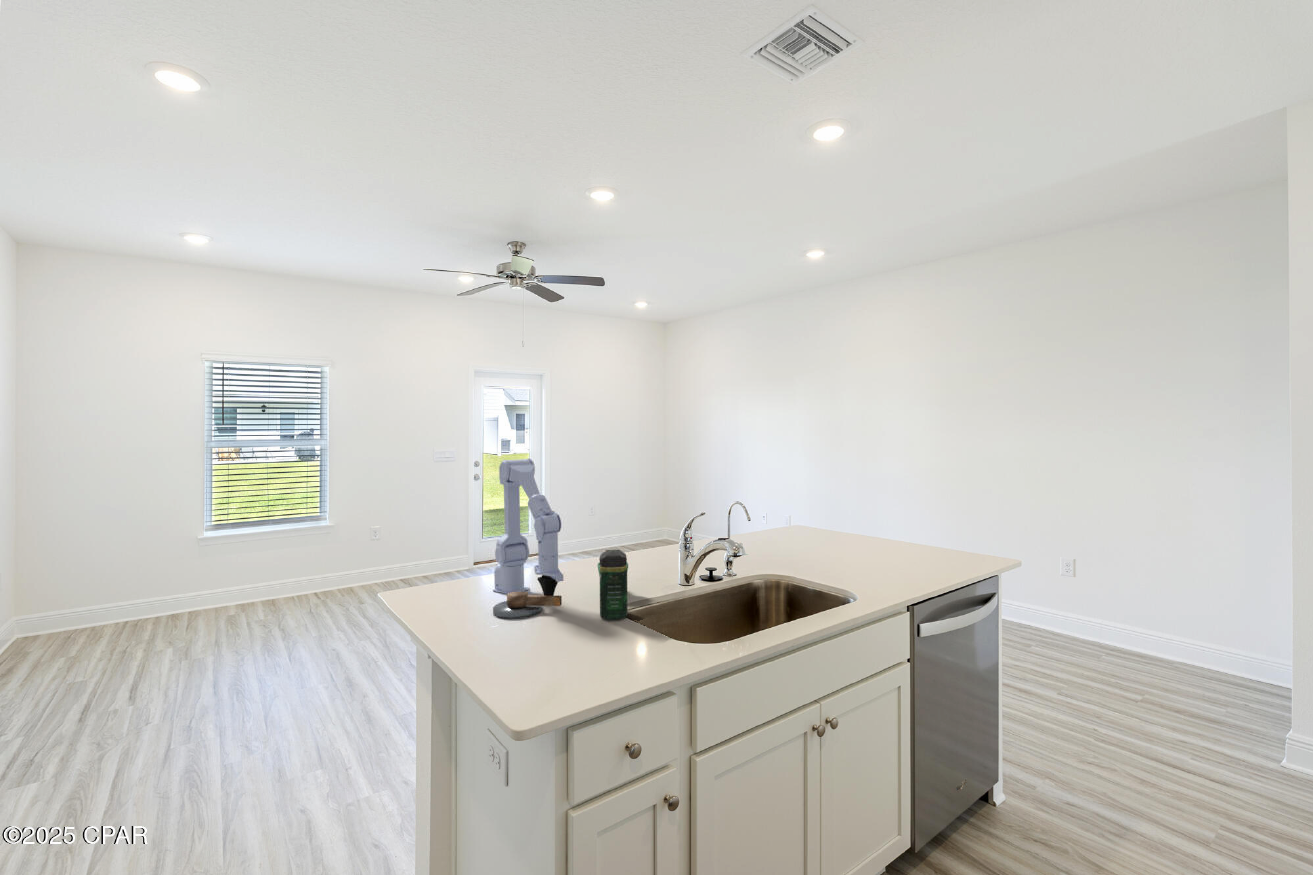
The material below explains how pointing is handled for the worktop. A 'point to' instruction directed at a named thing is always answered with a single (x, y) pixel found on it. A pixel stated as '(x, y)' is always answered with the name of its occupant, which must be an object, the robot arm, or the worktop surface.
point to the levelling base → (515, 611)
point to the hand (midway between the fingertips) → (549, 600)
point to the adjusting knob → (532, 600)
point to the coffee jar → (613, 585)
